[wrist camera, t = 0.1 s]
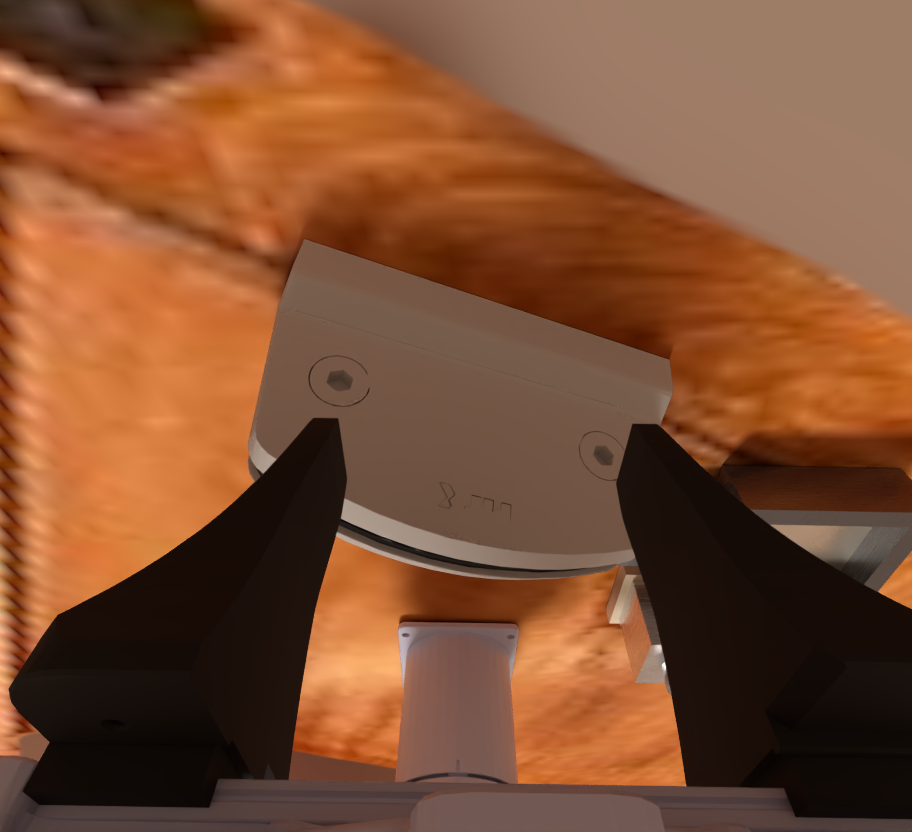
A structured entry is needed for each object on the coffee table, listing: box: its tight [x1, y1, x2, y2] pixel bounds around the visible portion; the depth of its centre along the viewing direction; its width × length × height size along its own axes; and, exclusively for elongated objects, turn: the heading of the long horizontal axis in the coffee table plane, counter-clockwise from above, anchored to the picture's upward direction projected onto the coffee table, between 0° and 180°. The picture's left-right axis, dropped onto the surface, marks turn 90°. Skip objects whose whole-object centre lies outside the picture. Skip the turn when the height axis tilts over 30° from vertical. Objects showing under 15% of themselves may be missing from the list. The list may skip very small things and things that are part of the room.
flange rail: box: [617, 465, 912, 592], centre depth 28 cm, size 8×19×3 cm, turn 89°
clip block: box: [619, 580, 671, 694], centre depth 31 cm, size 4×4×5 cm
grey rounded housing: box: [248, 239, 673, 580], centre depth 21 cm, size 17×5×10 cm, turn 71°
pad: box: [606, 566, 643, 623], centre depth 33 cm, size 5×5×1 cm
